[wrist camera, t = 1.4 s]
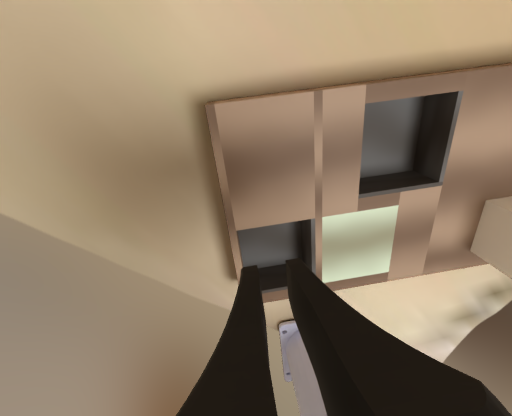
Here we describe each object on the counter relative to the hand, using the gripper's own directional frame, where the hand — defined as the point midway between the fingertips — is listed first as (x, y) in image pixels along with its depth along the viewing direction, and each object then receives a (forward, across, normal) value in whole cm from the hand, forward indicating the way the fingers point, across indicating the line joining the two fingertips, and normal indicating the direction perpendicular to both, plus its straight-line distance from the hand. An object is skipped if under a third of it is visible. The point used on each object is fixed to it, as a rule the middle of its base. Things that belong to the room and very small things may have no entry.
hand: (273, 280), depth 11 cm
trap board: (+9, -10, 0) cm, 14 cm away
